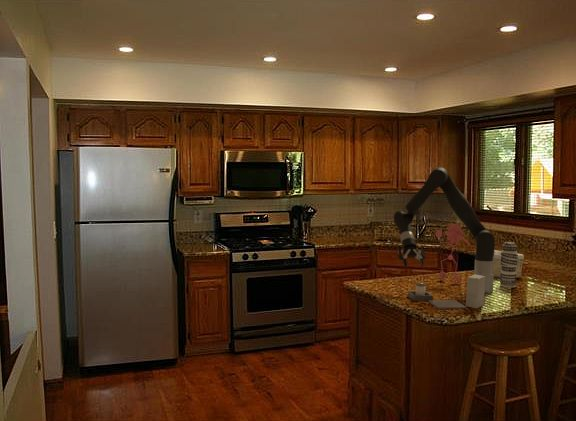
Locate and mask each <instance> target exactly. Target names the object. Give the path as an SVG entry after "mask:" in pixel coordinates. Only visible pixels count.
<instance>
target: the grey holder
mask: <svg viewBox="0 0 576 421" xmlns="http://www.w3.org/2000/svg"><path fill="white" fill-rule="evenodd" d="M407 297H408V298H409V299H411V300H412V301H413V302H426V301H427V302H428V300H434V295H433V294H431V293H429V292H428V291H427V290H425V295H419V296H415V290H413V291H410V290H409V291H407Z"/></svg>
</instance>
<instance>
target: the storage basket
mask: <svg viewBox="0 0 576 421" xmlns="http://www.w3.org/2000/svg"><path fill="white" fill-rule="evenodd" d="M501 253H502V250H496V249H494V256H493V269H492V274H493V275H494V278H499V279H501V277H500V276H501V274H500V273H501V270H502V266H501V262H502V261H501V256H502V255H501ZM517 255H518V256H517V258H518V259H516V261H517V262H516V263H517V267H516V276H515V277H516V279H517V278H521V277H522V268H523V262H524V258H525V255H524V254H522V253H517Z"/></svg>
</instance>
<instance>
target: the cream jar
mask: <svg viewBox="0 0 576 421" xmlns="http://www.w3.org/2000/svg"><path fill="white" fill-rule="evenodd" d="M414 291H415V296H419V295H425V291H426V282H424V281H423V282H422V281H417V282H415V290H414Z"/></svg>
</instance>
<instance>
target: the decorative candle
mask: <svg viewBox="0 0 576 421" xmlns="http://www.w3.org/2000/svg"><path fill="white" fill-rule="evenodd" d="M517 248H518V245H517V244H516V243H515V242H512V241H504V243H503V244H502V250H501V251H502V253H501V255H502V256H501V261H502V262H501V266H502V270H501V273H500V274H501V276H500V277H501V278H499V280H500V281H499V283H500V284H499V286H501V287H503V288H516V286H517V283H516V282H517V278H516V277H515V276H516V267H517V263H516V262H517V261H516V259H518V258H517V256H518V255H517V254H518V250H517Z"/></svg>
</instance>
